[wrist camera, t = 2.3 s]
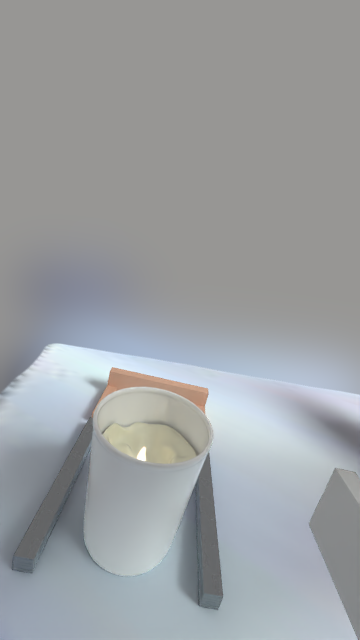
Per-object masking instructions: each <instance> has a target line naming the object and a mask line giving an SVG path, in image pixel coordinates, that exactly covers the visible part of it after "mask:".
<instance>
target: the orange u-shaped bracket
mask: <svg viewBox="0 0 360 640" xmlns="http://www.w3.org/2000/svg"><path fill="white" fill-rule="evenodd" d="M130 387H152V388H159V389H163V390H167V391H170V392H173V393H176V394H178V395H180V396H182V397H184V398H186V399H188V400H189V401H191V402H192V403H194V404H195V405H196V406H197V407H199V408H200V409H201V410H202V411H203V412H204V414H205V404H206V400H207V397H208V389H207V388H203V387H198V386H194V385H189V384H185V383H180V382H176V381H172V380H167V379H163V378H158V377H154V376H149V375H145V374H140V373H136V372H131V371H127V370H122V369H118V368H113V367H112V369H111V371H110V374H109V380H108V385H107V387H106V389H105V391H104V393H103V394H102V396H101V398H100V400H99V402H98V403H97V405H98V404H99V403H100V401H101V400H102V399H103V398H105V397H106V396H107V395H109V394H111V393H113V392H115V391H118V390H121V389H125V388H130ZM97 405H96V407H97ZM96 407H95V409H96ZM95 409H94V411H95ZM94 411H93V412H92V418H93V415H94Z"/></svg>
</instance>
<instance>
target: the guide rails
mask: <svg viewBox="0 0 360 640" xmlns="http://www.w3.org/2000/svg"><path fill="white" fill-rule="evenodd" d="M92 433H93V418H91V417H90V418H89V420H88V422H87V423H86V425H85V427H84V429H83V431H82V432H81V434H80V436H79V438H78V440H77V441H76V443H75V445H74V447H73V449H72V451H71V452H70V454H69V456H68V458H67V460H66V461H65V463H64V465H63V467H62V469H61V470H60V472H59V474H58V476H57V478H56V480H55V481H54V483H53V485H52V487H51V489H50V490H49V492H48V494H47V496H46V498H45V500H44V501H43V503H42V505H41V507H40V509H39V510H38V512H37V514H36V516H35V518H34V519H33V521H32V523H31V525H30V527H29V529H28V530H27V532H26V534H25V536H24V538H23V539H22V541H21V543H20V545H19V547H18V548H17V550H16V552H15V554H14V556H13V567H12V570H16V571H22V572H27V573H32V572H33V570H34V568H35V566H36V564H37V562H38V560H39V557H40V555H41V553H42V551H43V549H44V547H45V545H46V542H47V540H48V538H49V536H50V534H51V532H52V530H53V527H54V525H55V523H56V521H57V519H58V517H59V515H60V512H61V510H62V508H63V506H64V504H65V502H66V500H67V497H68V495H69V493H70V491H71V489H72V487H73V485H74V482H75V480H76V478H77V476H78V474H79V472H80V470H81V468H82V465H83V463H84V461H85V459H86V457H87V455H88V453H89V450H90V448H91V443H92ZM196 518H197V552H198V586H199V606H201V607H206V608H212V609H217V610H218V608H219V606H220V603H221V601H222V598H223V591H222V580H221V570H220V560H219V549H218V539H217V529H216V519H215V508H214V498H213V488H212V478H211V467H210V457H209V452H208V454H207V456H206V459H205V461H204V464H203V466H202V469H201V471H200V474H199V477H198V479H197V482H196Z"/></svg>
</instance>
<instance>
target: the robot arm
mask: <svg viewBox="0 0 360 640" xmlns="http://www.w3.org/2000/svg"><path fill="white" fill-rule="evenodd" d="M309 526H310V528H311V530H312V533H313V535H314V537H315V540H316V542H317V544H318V547H319V549H320V551H321V554H322V556H323V558H324V561H325V563H326V566H327V568H328V570H329V573H330V575H331V577H332V580H333V582H334V584H335V587H336V589H337V591H338V594H339V596H340V598H341V601H342V603H343V605H344V608H345V610H346V612H347V615H348V617H349V619H350V622H351V624H352V626H353V629H354V631H355V634H356V636H357V638H358V640H360V478H359V477H358V476H357V474H356V473H355V472H352V471H347V470H343V469H338V468H335V470H334V472H333V474H332V476H331V478H330V480H329V482H328V484H327V486H326V489H325V491H324V493H323V495H322V497H321V499H320V501H319V503H318V505H317V507H316V510H315V512H314V514H313V516H312V518H311V520H310V522H309Z"/></svg>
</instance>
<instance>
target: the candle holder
mask: <svg viewBox="0 0 360 640" xmlns="http://www.w3.org/2000/svg"><path fill="white" fill-rule="evenodd" d="M212 443H213V429H212V426H211V423H210V421H209V419H208V418H207V416H206V415H205V414H204V412H203V411H202V410H201V409H200V408H199V407H197V406H196V405H195V404H194V403H192V402H191V401H189V400H188V399H186V398H184V397H182V396H180V395H178V394H176V393H173V392H170V391H167V390H163V389H159V388H152V387H130V388H125V389H121V390H118V391H115V392H113V393H111V394H109V395H107V396H106V397H105V398H103V399H102V400H101V401H100V403H99V404H98V405H97V407H96V409H95V411H94V415H93V433H92V443H91V452H90V462H89V472H88V482H87V491H86V501H85V512H84V525H83V533H84V541H85V545H86V548H87V550H88V552H89V554H90V556H91V557H92V558H93V560H94V561H95V562H96V563H97V564H98V565H99V566H100V567H101V568H103V569H104V570H106V571H108V572H110V573H112V574H115V575H119V576H136V575H141V574H144V573H146V572H148V571H150V570H152V569H153V568H155V567H156V566H157V565H158V564H159V563H160V562H161V561H162V560H163V559H164V557H165V556H166V554H167V553H168V551H169V549H170V547H171V545H172V543H173V540H174V538H175V535H176V533H177V530H178V528H179V525H180V523H181V520H182V518H183V515H184V512H185V510H186V507H187V505H188V502H189V500H190V497H191V495H192V492H193V489H194V487H195V484H196V482H197V479H198V477H199V474H200V471H201V469H202V466H203V464H204V461H205V459H206V456H207V454H208V452H209V451H210V448H211V446H212Z"/></svg>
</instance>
